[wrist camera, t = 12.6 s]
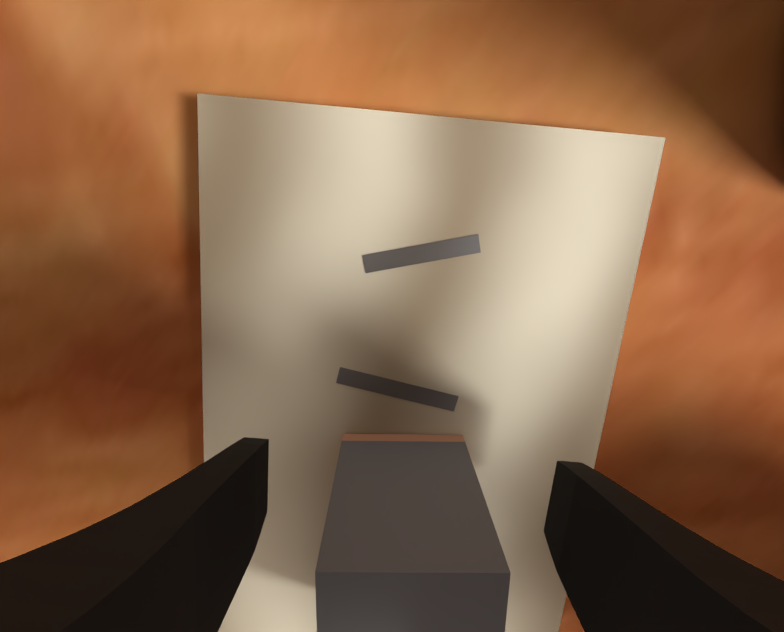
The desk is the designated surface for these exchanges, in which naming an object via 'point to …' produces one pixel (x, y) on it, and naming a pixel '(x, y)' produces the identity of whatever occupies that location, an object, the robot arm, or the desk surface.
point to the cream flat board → (410, 313)
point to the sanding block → (409, 540)
